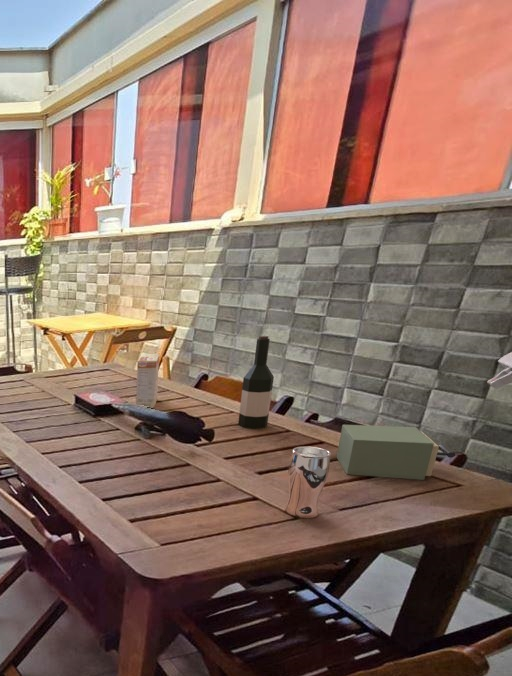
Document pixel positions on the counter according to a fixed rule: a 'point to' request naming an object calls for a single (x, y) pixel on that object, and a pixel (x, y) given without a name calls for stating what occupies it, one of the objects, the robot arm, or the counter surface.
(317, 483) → the beer glass
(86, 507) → the counter surface
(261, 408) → the wine bottle
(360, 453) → the cabinet
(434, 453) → the drawer
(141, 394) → the coffeecake box
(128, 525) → the counter surface
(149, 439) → the counter surface
